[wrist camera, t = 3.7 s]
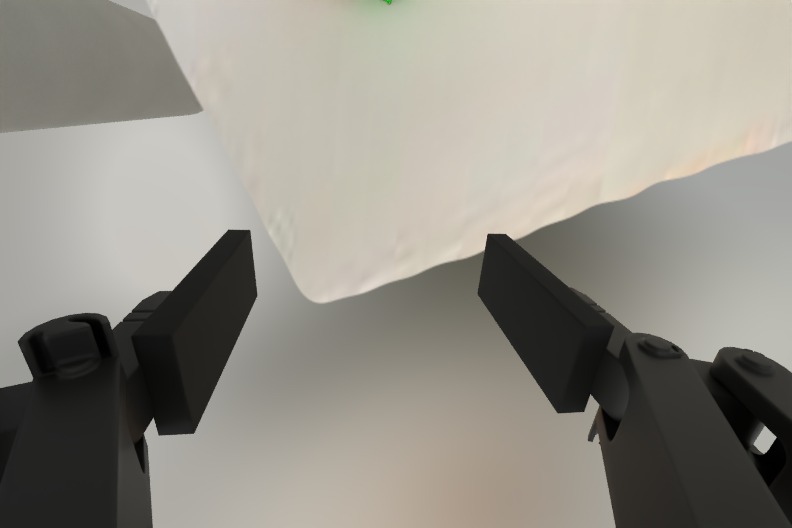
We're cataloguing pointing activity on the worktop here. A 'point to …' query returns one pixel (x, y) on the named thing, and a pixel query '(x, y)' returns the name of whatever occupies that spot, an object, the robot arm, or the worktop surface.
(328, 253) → the worktop surface
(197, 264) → the robot arm
